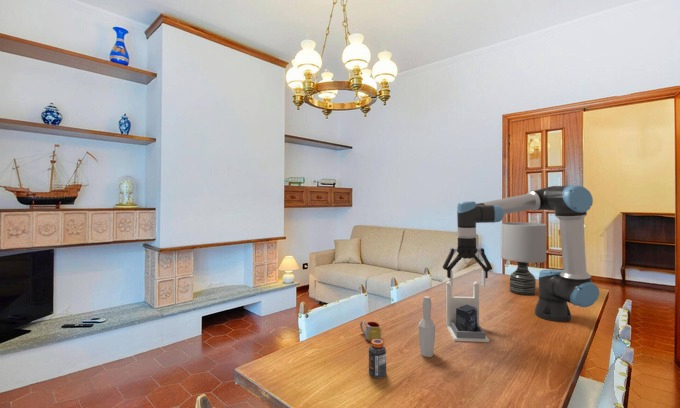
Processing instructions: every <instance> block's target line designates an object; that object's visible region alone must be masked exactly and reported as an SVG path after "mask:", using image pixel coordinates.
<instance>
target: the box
mask: <svg viewBox="0 0 680 408" xmlns="http://www.w3.org/2000/svg"><path fill="white" fill-rule="evenodd" d="M456 328H457V329H458V331H473V332H477V308H476V307H473V306H470V305H464V306H461V307H457V308H456Z"/></svg>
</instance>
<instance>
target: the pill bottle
mask: <svg viewBox="0 0 680 408" xmlns="http://www.w3.org/2000/svg"><path fill="white" fill-rule="evenodd" d="M370 343H371V345H370V346H369V347H368V374H369V375H370V376H371V377H373V378H375V379H379V378H380V379H381V378H384V377H386V375H387V349H386V347H385V346H384V341H383V339H382V340H381V339H373V340H372V341H371V342H370Z"/></svg>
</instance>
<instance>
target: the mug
mask: <svg viewBox="0 0 680 408" xmlns="http://www.w3.org/2000/svg"><path fill="white" fill-rule="evenodd" d="M363 325H365V327H364V328H363ZM359 326H360V330H361V332H362V333H363V334H364V336H365V338H366V340H367V341H368V342H370V343H371V341H372V340H373V339H381V340H382V341H383V338H382V334H383V333H382V328H381V326H380V323H378V322H377V321H367V322H366V321H365V320H362V321H360V324H359Z"/></svg>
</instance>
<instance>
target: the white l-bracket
mask: <svg viewBox="0 0 680 408" xmlns="http://www.w3.org/2000/svg"><path fill="white" fill-rule="evenodd" d="M472 286H473V288H472V296H452V294H453V293H452V292H453V291H452V288H453V286H450V280H447V281H445V289H446V290H445V300H446V301H445V306H446V307H445V308H446V309H445V315H446V316H445V319H446V321H445V326H446V329H447V331H448V332H449V334H450V335H451V338H452V339H453V341H454V342H472V343H473V342H474V343H490V338H488V337H487V335H486V332H485V331H484V329H483V328H482V327H481V325H480V283H479V282H478V281H474V282H473V283H472ZM464 305H470V306H473V307H476V308H477V332H473V331H458V329H457V328H456V308H457V307H461V306H464Z"/></svg>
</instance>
